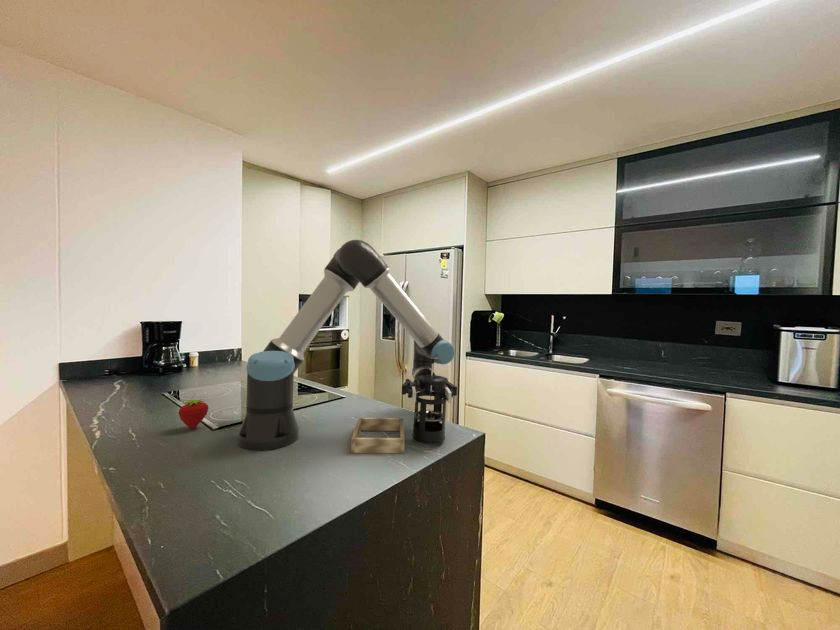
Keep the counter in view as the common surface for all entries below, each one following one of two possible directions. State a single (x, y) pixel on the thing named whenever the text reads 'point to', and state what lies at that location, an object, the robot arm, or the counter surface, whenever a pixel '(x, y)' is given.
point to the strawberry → (193, 412)
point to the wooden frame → (378, 443)
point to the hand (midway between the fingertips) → (432, 397)
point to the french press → (429, 424)
